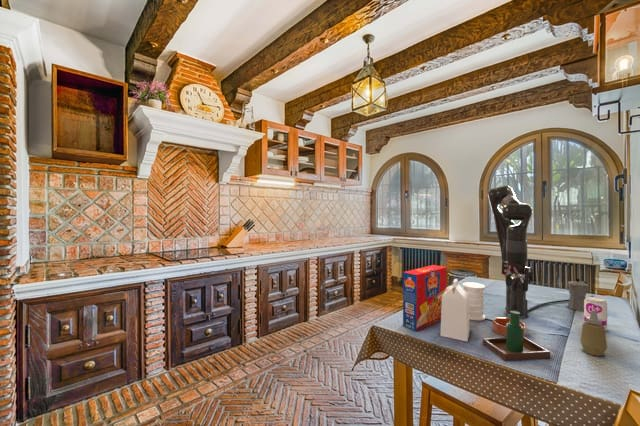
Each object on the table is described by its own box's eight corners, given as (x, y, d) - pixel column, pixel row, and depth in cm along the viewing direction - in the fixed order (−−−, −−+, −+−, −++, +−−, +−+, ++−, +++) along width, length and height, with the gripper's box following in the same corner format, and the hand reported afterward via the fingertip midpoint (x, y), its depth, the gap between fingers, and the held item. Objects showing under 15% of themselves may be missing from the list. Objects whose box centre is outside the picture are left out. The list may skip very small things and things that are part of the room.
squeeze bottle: (574, 348, 123) (575, 307, 122) (592, 347, 124) (592, 306, 123) (594, 358, 115) (595, 314, 114) (612, 357, 115) (613, 313, 115)
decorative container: (488, 322, 151) (489, 288, 150) (465, 320, 153) (465, 287, 153) (480, 314, 162) (481, 282, 162) (459, 312, 165) (459, 281, 164)
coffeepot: (580, 313, 162) (581, 281, 162) (561, 307, 171) (562, 277, 171) (595, 309, 168) (596, 278, 168) (576, 303, 177) (576, 275, 177)
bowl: (511, 326, 145) (511, 316, 145) (532, 338, 132) (532, 327, 132) (486, 327, 144) (486, 317, 144) (505, 339, 131) (506, 329, 131)
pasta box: (416, 331, 141) (416, 275, 140) (403, 325, 147) (403, 272, 147) (446, 317, 158) (446, 267, 157) (433, 312, 164) (433, 264, 164)
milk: (467, 341, 130) (467, 285, 129) (440, 335, 136) (440, 281, 135) (469, 331, 140) (470, 279, 139) (444, 326, 146) (444, 276, 145)
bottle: (515, 345, 125) (516, 309, 124) (526, 352, 119) (527, 314, 118) (502, 346, 124) (503, 309, 124) (513, 353, 118) (513, 315, 118)
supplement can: (602, 333, 137) (603, 302, 136) (580, 327, 144) (581, 297, 144) (609, 330, 140) (610, 299, 140) (588, 323, 148) (588, 295, 147)
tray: (523, 341, 129) (523, 336, 129) (550, 358, 115) (550, 351, 115) (482, 344, 127) (482, 338, 127) (504, 360, 114) (504, 354, 114)
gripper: (539, 253, 114) (538, 293, 115) (511, 247, 128) (511, 283, 129) (521, 253, 114) (521, 294, 114) (496, 248, 128) (496, 284, 128)
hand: (516, 288), depth 122 cm, fingers open, 8 cm apart
